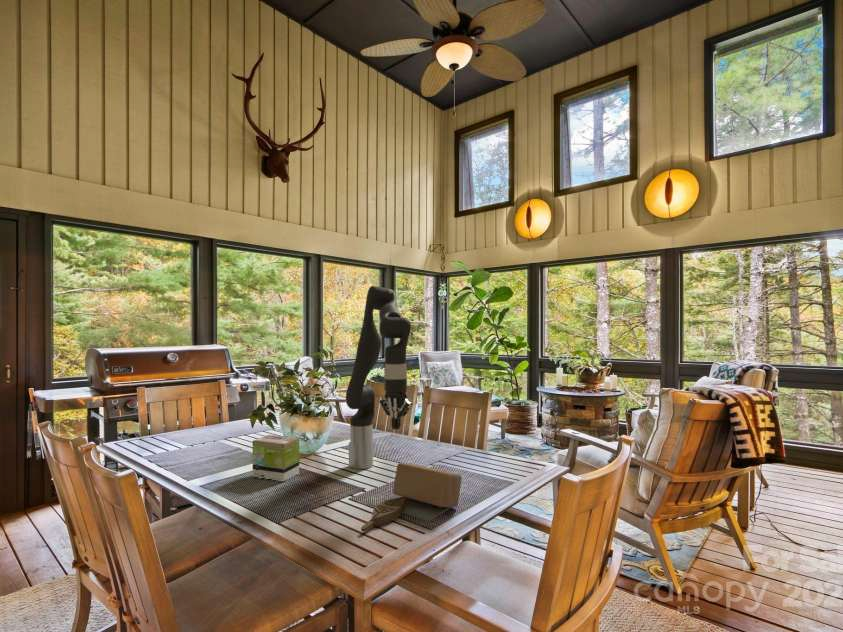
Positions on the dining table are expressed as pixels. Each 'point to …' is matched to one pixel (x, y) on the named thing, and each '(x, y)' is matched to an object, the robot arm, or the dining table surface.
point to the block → (427, 485)
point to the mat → (421, 509)
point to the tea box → (276, 457)
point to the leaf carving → (386, 512)
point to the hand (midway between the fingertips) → (396, 428)
